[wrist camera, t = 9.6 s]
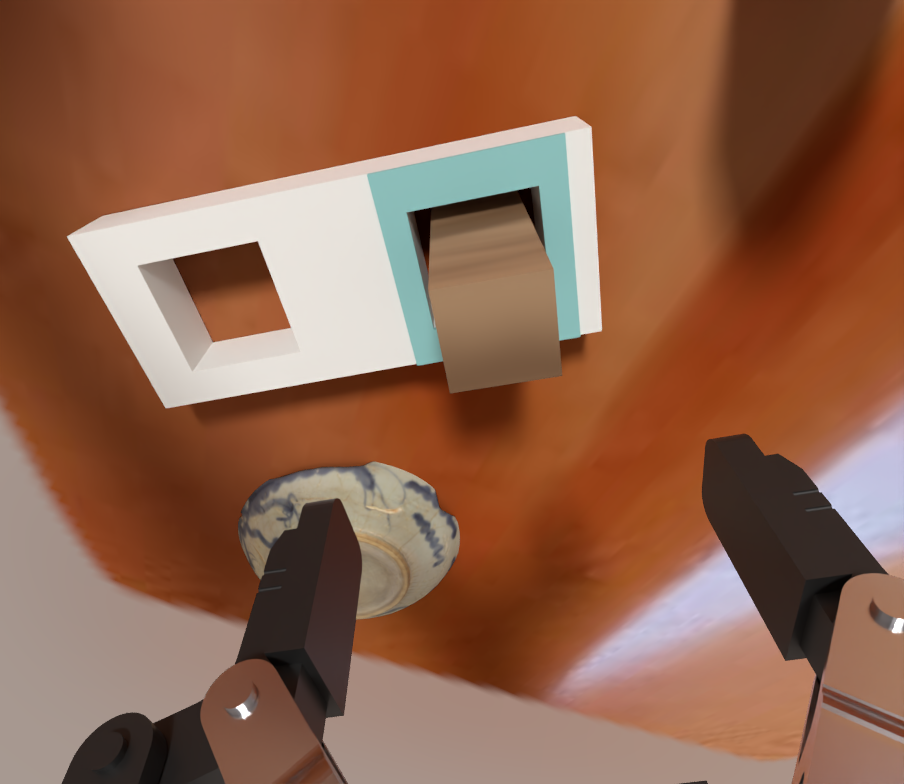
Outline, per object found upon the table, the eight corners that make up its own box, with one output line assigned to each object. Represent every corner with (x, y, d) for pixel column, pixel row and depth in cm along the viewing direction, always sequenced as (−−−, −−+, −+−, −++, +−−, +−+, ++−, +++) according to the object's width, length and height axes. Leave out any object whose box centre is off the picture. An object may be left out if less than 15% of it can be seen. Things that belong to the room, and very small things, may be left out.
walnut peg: (431, 204, 26) (428, 290, 18) (516, 189, 26) (553, 268, 18) (446, 284, 29) (450, 393, 20) (525, 270, 28) (562, 375, 20)
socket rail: (102, 215, 26) (64, 238, 24) (575, 115, 24) (592, 127, 22) (187, 377, 31) (164, 410, 29) (588, 304, 29) (603, 332, 27)
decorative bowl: (501, 504, 38) (286, 417, 33) (507, 547, 35) (271, 458, 30) (399, 623, 45) (211, 565, 40) (397, 669, 42) (193, 611, 37)
